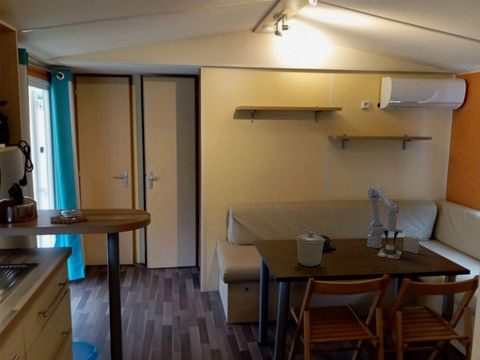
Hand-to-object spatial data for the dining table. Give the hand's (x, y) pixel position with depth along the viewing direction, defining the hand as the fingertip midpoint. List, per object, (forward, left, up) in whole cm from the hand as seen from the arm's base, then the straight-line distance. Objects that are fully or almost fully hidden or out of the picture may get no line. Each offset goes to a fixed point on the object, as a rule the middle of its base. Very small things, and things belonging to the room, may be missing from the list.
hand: (390, 241), depth 286 cm
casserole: (-47, -13, -9) cm, 50 cm away
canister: (-42, -50, -9) cm, 66 cm away
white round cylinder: (0, 0, -8) cm, 8 cm away
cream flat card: (0, 0, -9) cm, 9 cm away
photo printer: (+12, +15, -9) cm, 21 cm away
